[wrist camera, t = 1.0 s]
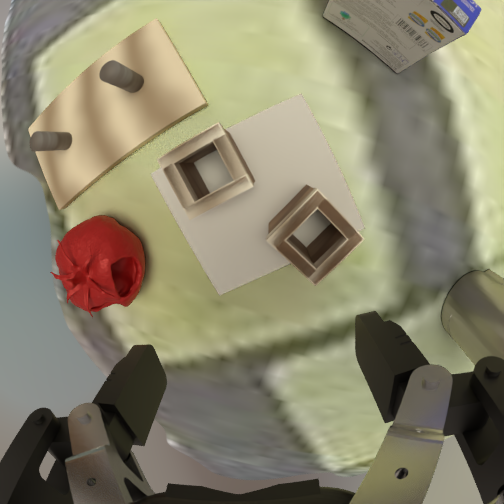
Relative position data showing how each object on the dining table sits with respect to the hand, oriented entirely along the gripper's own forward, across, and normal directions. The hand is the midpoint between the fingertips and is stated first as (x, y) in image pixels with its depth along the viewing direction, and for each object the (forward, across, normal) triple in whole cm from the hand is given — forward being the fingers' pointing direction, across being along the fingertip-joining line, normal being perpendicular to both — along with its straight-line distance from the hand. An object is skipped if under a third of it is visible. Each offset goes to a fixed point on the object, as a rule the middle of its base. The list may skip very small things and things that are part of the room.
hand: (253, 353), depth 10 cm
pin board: (+18, +13, -16) cm, 28 cm away
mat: (+17, -1, -4) cm, 18 cm away
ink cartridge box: (+17, -16, -20) cm, 30 cm away
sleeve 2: (+17, -5, -1) cm, 18 cm away
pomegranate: (+18, +16, -1) cm, 24 cm away
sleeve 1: (+17, +2, -7) cm, 19 cm away
